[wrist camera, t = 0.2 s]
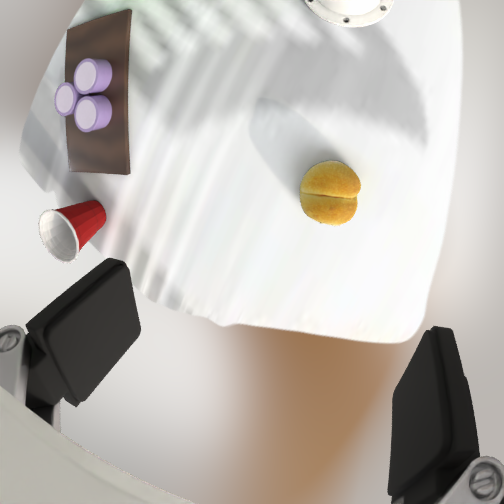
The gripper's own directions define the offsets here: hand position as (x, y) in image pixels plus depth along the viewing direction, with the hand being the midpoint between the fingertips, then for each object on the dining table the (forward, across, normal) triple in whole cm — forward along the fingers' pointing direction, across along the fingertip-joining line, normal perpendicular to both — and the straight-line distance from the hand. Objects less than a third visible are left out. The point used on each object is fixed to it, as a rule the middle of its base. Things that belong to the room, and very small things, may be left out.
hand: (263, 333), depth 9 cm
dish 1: (+36, +40, -12) cm, 55 cm away
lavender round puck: (+36, +40, -5) cm, 54 cm away
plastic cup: (+37, +44, +16) cm, 60 cm away
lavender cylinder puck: (+36, +46, -8) cm, 58 cm away
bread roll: (+37, 0, +6) cm, 37 cm away
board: (+37, +42, -8) cm, 56 cm away
